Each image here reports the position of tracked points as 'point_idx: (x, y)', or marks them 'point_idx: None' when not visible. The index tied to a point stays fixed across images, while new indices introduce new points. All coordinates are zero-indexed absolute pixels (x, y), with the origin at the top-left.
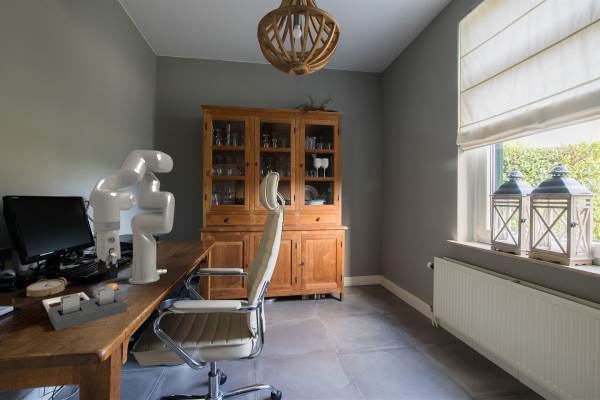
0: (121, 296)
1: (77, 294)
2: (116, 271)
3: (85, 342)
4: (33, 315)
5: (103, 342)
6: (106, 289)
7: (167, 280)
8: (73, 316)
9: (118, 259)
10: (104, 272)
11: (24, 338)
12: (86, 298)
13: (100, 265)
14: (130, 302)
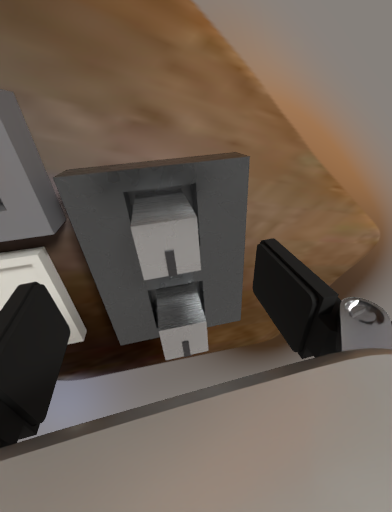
0: (22, 130)
1: (176, 328)
2: (303, 271)
3: (328, 258)
4: (82, 349)
5: (361, 231)
6: (178, 246)
7: None
8: (234, 295)
9: (383, 353)
10: (51, 303)
11: (219, 336)
12: (9, 266)
13: (47, 386)
14: (114, 103)
